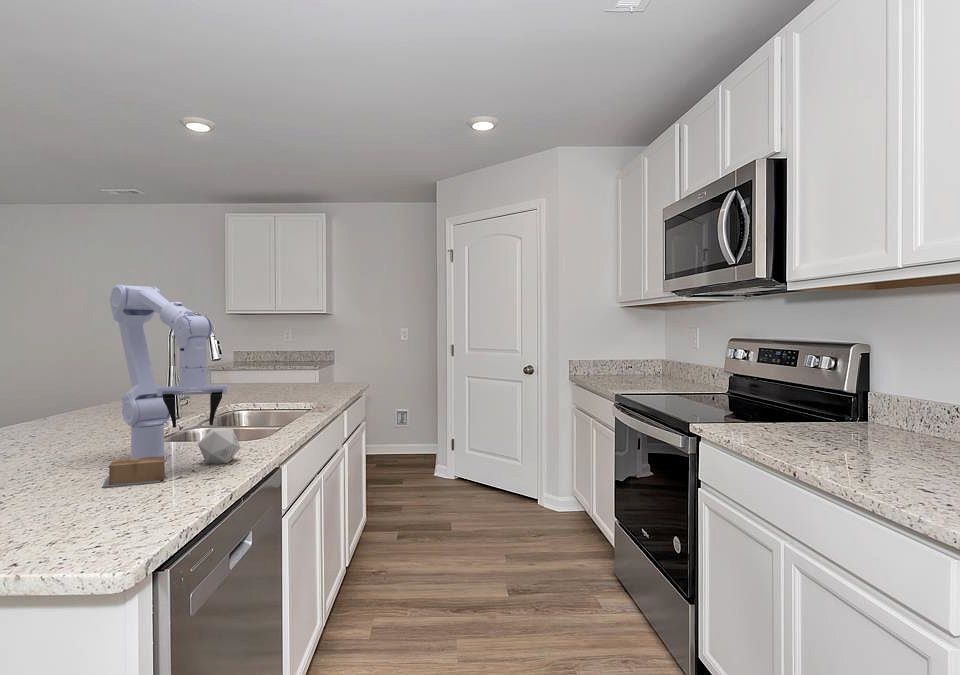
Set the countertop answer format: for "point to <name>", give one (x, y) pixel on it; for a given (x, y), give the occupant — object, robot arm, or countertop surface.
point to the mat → (106, 483)
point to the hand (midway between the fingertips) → (193, 425)
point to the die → (219, 445)
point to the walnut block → (136, 470)
